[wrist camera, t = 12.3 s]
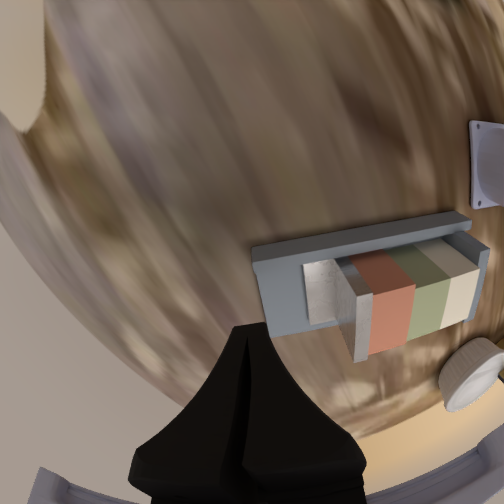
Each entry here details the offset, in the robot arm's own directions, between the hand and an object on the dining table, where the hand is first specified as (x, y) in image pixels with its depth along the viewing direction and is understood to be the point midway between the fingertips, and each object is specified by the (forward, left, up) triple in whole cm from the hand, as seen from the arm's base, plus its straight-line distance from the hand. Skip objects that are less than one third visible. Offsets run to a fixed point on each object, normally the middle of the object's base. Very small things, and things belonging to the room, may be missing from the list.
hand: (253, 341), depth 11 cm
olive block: (-11, +4, -9) cm, 15 cm away
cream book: (-14, +4, -9) cm, 17 cm away
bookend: (-5, +4, -9) cm, 11 cm away
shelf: (-9, +4, -10) cm, 14 cm away
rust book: (-8, +4, -9) cm, 13 cm away
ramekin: (-26, +23, -10) cm, 36 cm away
